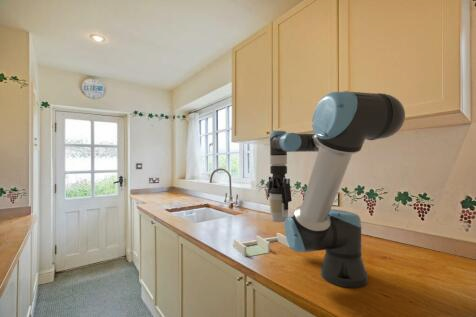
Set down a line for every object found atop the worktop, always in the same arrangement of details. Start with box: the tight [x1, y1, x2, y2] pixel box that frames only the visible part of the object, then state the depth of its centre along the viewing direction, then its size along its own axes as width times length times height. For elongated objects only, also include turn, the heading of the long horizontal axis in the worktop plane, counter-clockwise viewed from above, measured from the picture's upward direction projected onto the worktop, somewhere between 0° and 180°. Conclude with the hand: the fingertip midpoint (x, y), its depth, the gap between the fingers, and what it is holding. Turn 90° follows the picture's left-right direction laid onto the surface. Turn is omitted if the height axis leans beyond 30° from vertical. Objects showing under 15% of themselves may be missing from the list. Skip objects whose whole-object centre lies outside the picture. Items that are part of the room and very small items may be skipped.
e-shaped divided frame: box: [232, 232, 291, 257], centre depth 115 cm, size 13×25×4 cm, turn 114°
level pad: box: [245, 244, 270, 257], centre depth 110 cm, size 10×10×1 cm
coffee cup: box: [268, 188, 287, 223], centre depth 109 cm, size 9×9×15 cm
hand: (278, 214), depth 109 cm, fingers closed on coffee cup, 8 cm apart
